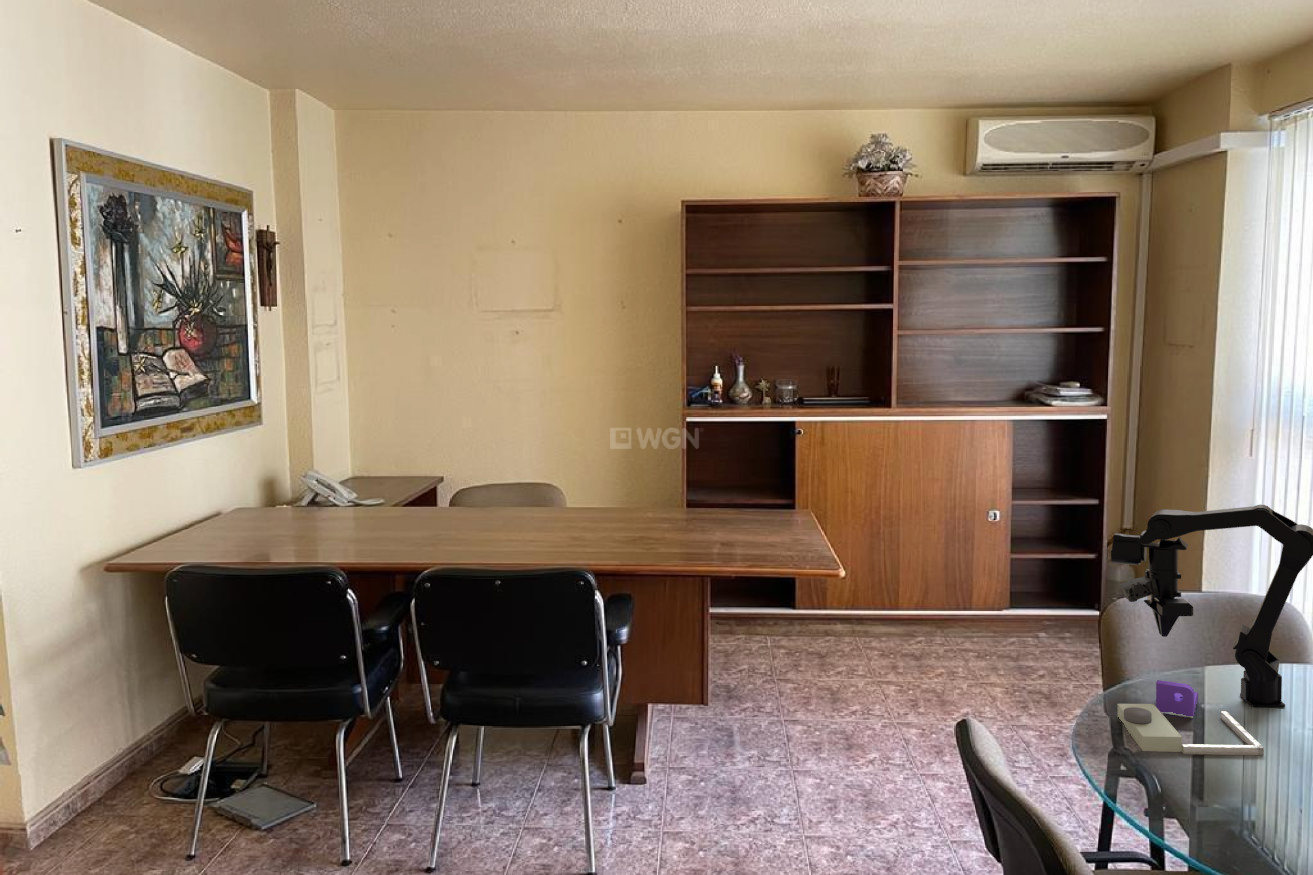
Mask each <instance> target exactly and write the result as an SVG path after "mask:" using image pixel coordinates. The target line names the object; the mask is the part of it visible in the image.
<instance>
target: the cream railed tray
mask: <svg viewBox="0 0 1313 875" xmlns="http://www.w3.org/2000/svg"><path fill="white" fill-rule="evenodd" d="M1118 717H1119V719H1120V720H1121V721H1122V722H1123V723H1124V725H1125V727H1126V728H1127V729H1126V728H1125V727H1124V728H1125V729H1126V730H1128V731H1127V732H1128V734H1131V735H1130V736H1131V737H1132V739H1133V740H1134V741H1135V742H1136V744H1137V745H1138V747H1139V748H1140V750H1141V751H1142V752H1165V753H1166V752H1169V753H1170V752H1171V753H1172V752H1173V753H1174V752H1179V753H1182V754H1183V755H1218V756H1219V755H1221V756H1224V755H1225V756H1264V753H1265V750H1264V749H1265V748H1264V747H1263V745H1262V744H1260V742H1258V740H1256V738H1255V737H1253V736H1252V735H1251V734H1250V733H1249V732H1248V731H1247V730H1246V729H1245V727H1243V726H1242V725H1241V724H1240V723H1239V722H1238V721H1237V720H1236V719H1235V718H1234V717H1233V716H1231V715H1230V713H1229V712H1228V711H1220V719H1221V720H1222V721H1223V722H1224V723H1225V724H1226V725H1227V726H1228V727H1229V728H1230V729H1231V730H1232V731H1233V732H1234V733H1235V734H1236V735H1237V736H1238V737H1239V738H1240V739H1241V740H1242V741H1243V742H1244V743H1245V744H1240V745H1239V744H1192V743H1191V744H1186V743H1185V744H1184V743H1183V742H1182V741H1183V740H1182V738H1183V736H1181V734H1180V733H1179V732H1178V731H1177V730H1176V728H1175V727H1174V726H1173V725H1172V723H1171V722H1169V720H1168V718H1166V717H1165V716H1164V714H1162V713H1161V712H1160V711H1159V710H1158V709H1157V708H1156V704H1154V703H1117V718H1118ZM1119 719H1118V720H1119ZM1120 720H1119V721H1120ZM1121 721H1120V722H1121ZM1124 725H1123V726H1124Z"/></svg>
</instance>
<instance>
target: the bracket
mask: <svg viewBox="0 0 1313 875" xmlns="http://www.w3.org/2000/svg"><path fill="white" fill-rule="evenodd" d="M1155 684H1156V685H1155V703H1156V704H1155V706H1156V708H1157V709H1158V710H1159V711H1160V712H1173V713H1176V714H1183V715H1186V716H1195V714H1194V712H1195V713H1196V710H1195V708H1197V706H1196V704H1198V701H1199V692H1198V691H1197V692H1196V691H1195V690H1194V688H1193V687H1192V686H1191V685H1190V684H1187V683H1180V682H1174V681H1167V680H1161V679H1157V680H1156V682H1155ZM1197 700H1198V701H1197Z"/></svg>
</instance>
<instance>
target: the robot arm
mask: <svg viewBox="0 0 1313 875" xmlns="http://www.w3.org/2000/svg"><path fill="white" fill-rule="evenodd" d="M1152 514H1153V515H1151V517H1150V518H1149V519H1148V522H1147V526H1146V528H1147V529H1146V530H1143V531H1142V532H1141V533H1140V535H1133V534H1125V533H1120V532H1116V533H1114V534H1113V537H1112V538H1113V539H1112V546H1111V549H1110V560H1111V563H1112V564H1117V565H1118V564H1119V565H1129V566H1130V565H1131V566H1141V565H1142V562H1147V558H1148V568H1146V569H1145V570H1144V575H1143V576H1141V577H1137V578H1133V579H1130V580H1127V581H1125V582H1122V583H1120V584H1119V586H1120V589H1121V590H1122V593H1123V595H1124V598H1125V599H1126V600H1127V601H1128V602H1130V603H1134V602H1137V601H1138V600H1140V599H1144V598H1146V599H1144V600H1143V602H1144V604H1146V606H1148V607H1149V608H1150V609H1151V610H1152V613H1153V616H1154V619H1155V624H1156V627H1157V630H1158V634H1159V635H1161V637H1163V638H1164V637H1165V638H1166V637H1168V635H1169V634H1170V632H1171V630H1172V628H1173V627H1174V625H1175V624H1176V622H1177V620H1178V619H1179V617H1194V606H1193V605H1192V604H1191V603H1189V602H1188V601H1187V600H1186V599H1184V598H1182V592H1181V591H1180V590H1179V580H1181V579H1182V573H1180V572H1179V551H1186V550H1187V548H1189V544H1188V543H1187V542H1186V541H1184V540H1183V538H1182V537H1181V536H1186V535H1188V534H1190V533H1195V532H1201V531H1210V530H1214V531H1215V530H1223V529H1226V530H1227V529H1236V528H1237V529H1238V528H1246V527H1259V528H1260V529H1262V530H1263V531H1264V532H1265V533H1267V534H1268V535H1269V536H1270V537H1272V538H1273V539H1274V540H1276V541H1277V542H1278V543H1280V544H1282V548H1281V553H1280V559H1279V563H1278V566H1277V569H1276V571H1275V573H1274V575H1273V578H1272V579H1271V582H1270V584H1269V586H1268V589H1267V591H1266V594H1265V595H1264V597H1263V600H1262V602H1261V604H1260V607H1259V610H1258V611H1257V615H1256V616H1255V619H1254V620H1253V622H1252V623H1251V624H1250V625H1249V626H1247V625H1245V624H1241V628H1240V632H1239V635H1238V636H1237V637H1236V638H1234V639H1235V640H1234V643H1233V647H1232V649H1233V650H1235V653H1234V658H1235V661H1236V663H1237V664H1238V665H1240V666H1241V667H1242V668H1244V670H1243V677H1242V678H1240V693H1239V697H1241V698H1242V699H1243V700H1244V701H1245V702H1246V703H1247V704H1249V705H1250V706H1251V707H1255V708H1259V707H1260V708H1285V707H1286V704H1285V703H1284V702H1283V700H1282V695H1283V693H1282V692H1283V691H1282V689H1283V679H1282V678H1283V676H1282V675H1281V674H1280V673H1279V669H1280V661H1281V660H1280V658H1277V656H1275V655H1274V654H1273V653H1272V652H1271V651H1270V645H1271V641H1272V635H1273V632H1274V629H1275V627H1276V624H1277V623H1278V620H1279V619H1280V615H1281V613H1282V612H1283V609H1284V606H1285V605H1286V602H1287V600H1288V597H1289V595H1290V593H1291V591H1292V589H1293V587H1294V585H1295V582H1296V579H1297V578H1298V575H1299V573H1301V571H1302V570H1303V569H1304V568H1305V567H1306V565H1308V563H1309V561H1311V559H1312V558H1313V527H1311V526H1309V525H1307V524H1299V523H1296V522H1295V521H1293V520H1292V519H1291V518H1289V517H1287V516H1285V515H1282V514H1280V513H1279V512H1276V511H1275V510H1273V509H1272V508H1271V507H1269V506H1268V505H1265V504H1257V505H1254V506H1253V505H1251V506H1244V507H1242V506H1241V507H1233V508H1223V509H1212V510H1202V511H1187V510H1181V509H1168V508H1167V509H1166V508H1165V509H1160V510H1157V511H1155V512H1154V513H1152ZM1175 538H1176V539H1175ZM1173 539H1174V540H1173ZM1157 540H1159V542H1155V541H1157ZM1147 548H1148V549H1147ZM1147 554H1148V555H1147ZM1147 556H1148V557H1147Z"/></svg>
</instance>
